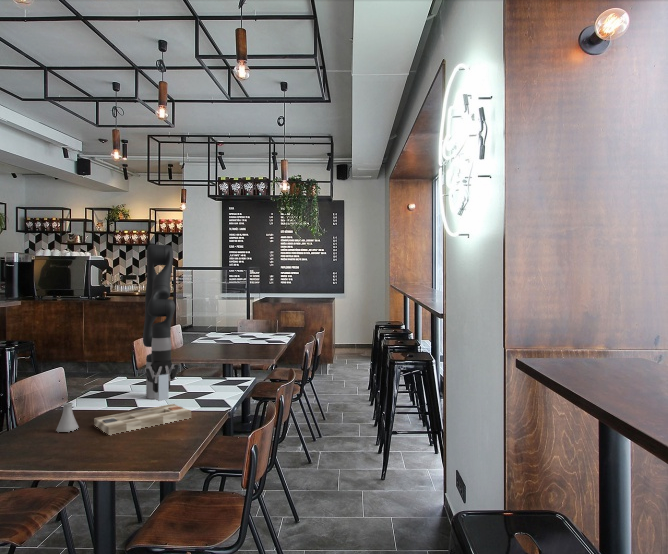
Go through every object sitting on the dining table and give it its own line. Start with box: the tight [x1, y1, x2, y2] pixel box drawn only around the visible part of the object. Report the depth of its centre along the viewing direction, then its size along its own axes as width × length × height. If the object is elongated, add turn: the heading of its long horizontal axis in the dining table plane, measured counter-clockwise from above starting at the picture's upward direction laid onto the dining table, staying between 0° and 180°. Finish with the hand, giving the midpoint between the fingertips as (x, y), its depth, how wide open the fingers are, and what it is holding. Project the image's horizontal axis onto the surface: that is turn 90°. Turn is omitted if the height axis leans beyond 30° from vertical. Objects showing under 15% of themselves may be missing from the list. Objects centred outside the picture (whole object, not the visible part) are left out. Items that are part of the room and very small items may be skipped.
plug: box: [154, 374, 170, 402], centre depth 199 cm, size 4×4×10 cm
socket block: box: [93, 403, 192, 436], centre depth 194 cm, size 16×32×3 cm, turn 133°
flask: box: [55, 402, 80, 433], centre depth 184 cm, size 7×7×10 cm
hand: (161, 391), depth 199 cm, fingers closed on plug, 4 cm apart
